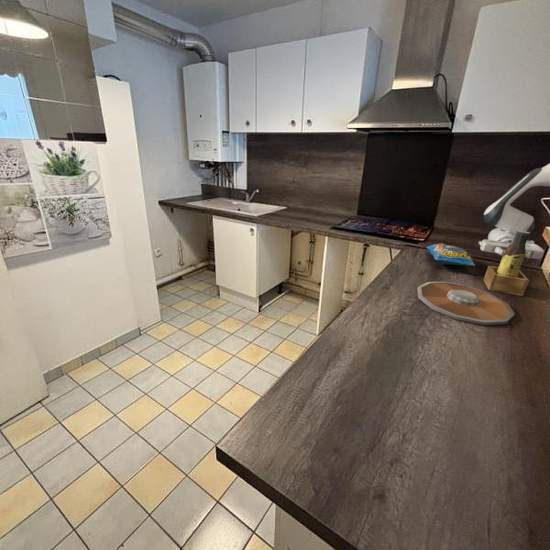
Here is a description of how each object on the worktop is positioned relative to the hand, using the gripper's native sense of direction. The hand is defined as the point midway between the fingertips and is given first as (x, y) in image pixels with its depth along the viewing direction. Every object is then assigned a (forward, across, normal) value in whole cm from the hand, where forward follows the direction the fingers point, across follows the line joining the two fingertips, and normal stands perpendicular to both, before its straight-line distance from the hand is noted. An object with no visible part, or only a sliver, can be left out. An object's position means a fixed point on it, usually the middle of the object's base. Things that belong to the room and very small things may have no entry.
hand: (515, 254), depth 111 cm
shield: (+22, -17, +14) cm, 31 cm away
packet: (-21, -18, +15) cm, 31 cm away
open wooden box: (-1, 0, +14) cm, 14 cm away
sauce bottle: (-1, 0, +11) cm, 11 cm away
